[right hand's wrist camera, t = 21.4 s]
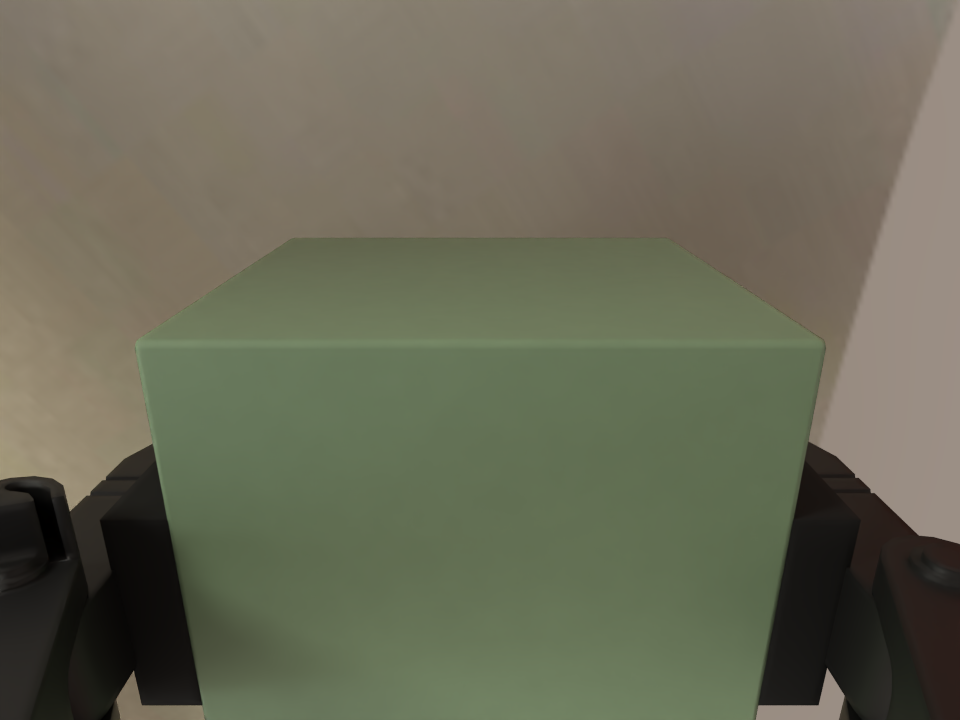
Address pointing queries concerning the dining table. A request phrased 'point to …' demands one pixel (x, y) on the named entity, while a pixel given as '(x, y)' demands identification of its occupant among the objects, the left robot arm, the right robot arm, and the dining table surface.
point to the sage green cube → (480, 480)
